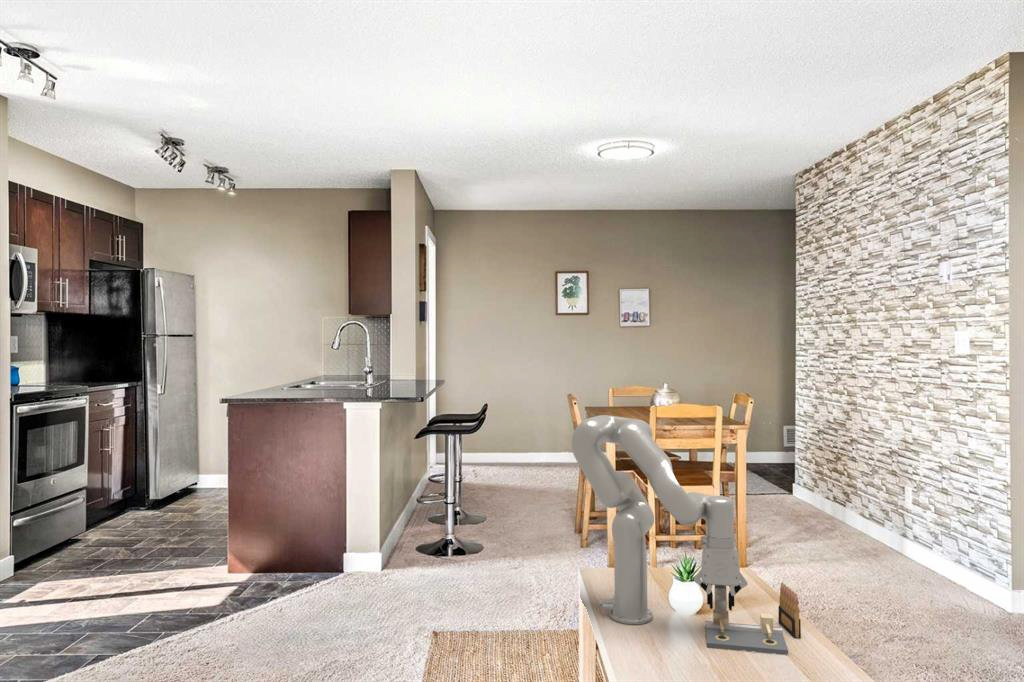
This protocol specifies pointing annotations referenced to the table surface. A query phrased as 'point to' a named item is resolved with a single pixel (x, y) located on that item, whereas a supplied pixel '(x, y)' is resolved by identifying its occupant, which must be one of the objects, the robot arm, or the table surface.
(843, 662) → the table surface
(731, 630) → the hole plate
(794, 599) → the ammunition clip
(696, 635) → the table surface
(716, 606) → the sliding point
